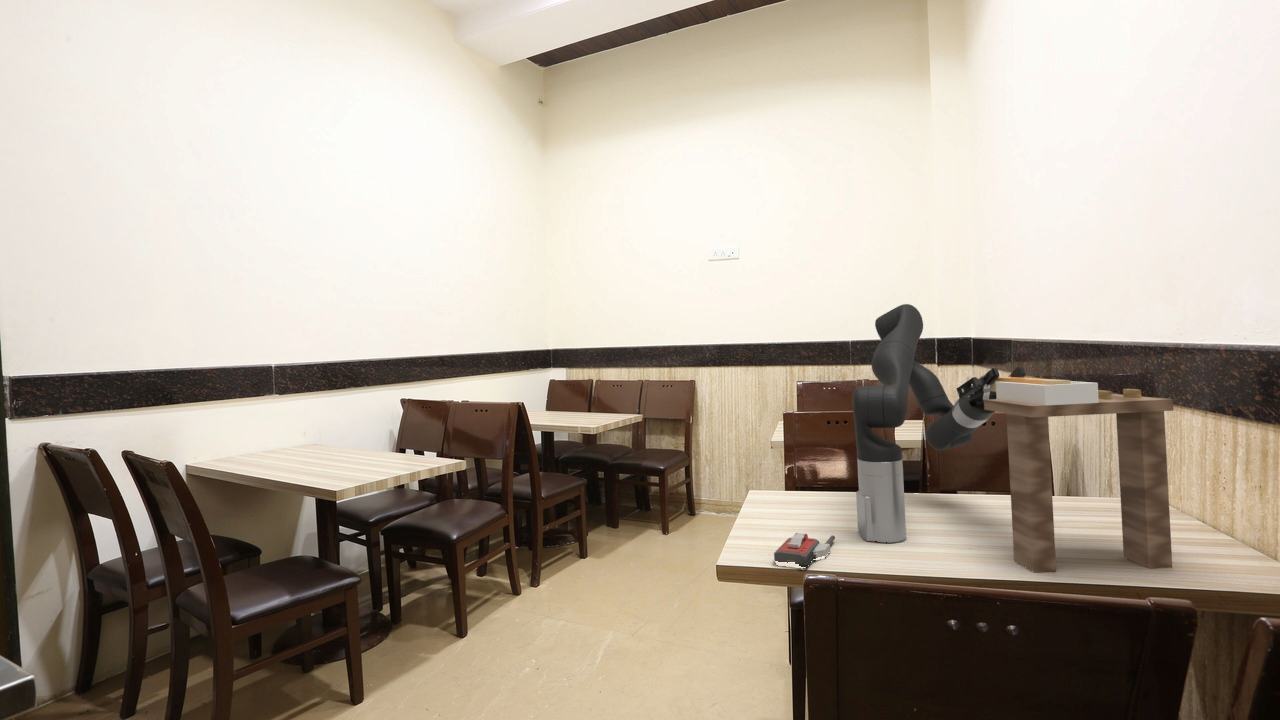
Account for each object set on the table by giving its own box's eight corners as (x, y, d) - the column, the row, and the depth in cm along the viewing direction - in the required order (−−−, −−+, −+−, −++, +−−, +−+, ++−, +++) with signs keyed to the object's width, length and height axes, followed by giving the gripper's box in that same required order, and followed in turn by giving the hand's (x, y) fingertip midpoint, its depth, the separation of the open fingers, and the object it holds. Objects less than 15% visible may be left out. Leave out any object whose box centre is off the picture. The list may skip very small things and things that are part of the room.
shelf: (1040, 576, 107) (1030, 397, 107) (991, 548, 123) (983, 392, 123) (1181, 571, 106) (1172, 390, 106) (1114, 543, 122) (1106, 386, 122)
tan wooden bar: (1052, 397, 109) (1052, 381, 109) (988, 391, 131) (987, 377, 131) (1071, 397, 109) (1070, 380, 109) (1003, 390, 131) (1002, 376, 131)
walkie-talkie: (816, 574, 115) (838, 543, 132) (815, 551, 115) (837, 523, 132) (770, 569, 119) (798, 539, 136) (769, 546, 119) (797, 520, 136)
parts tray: (1045, 405, 107) (1044, 385, 107) (996, 399, 123) (995, 381, 123) (1098, 402, 106) (1097, 382, 106) (1042, 396, 122) (1041, 379, 122)
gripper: (939, 393, 143) (968, 357, 128) (1001, 390, 142) (1038, 353, 127) (948, 422, 139) (979, 388, 124) (1012, 419, 138) (1051, 385, 123)
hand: (1009, 371), depth 126 cm, fingers open, 4 cm apart
